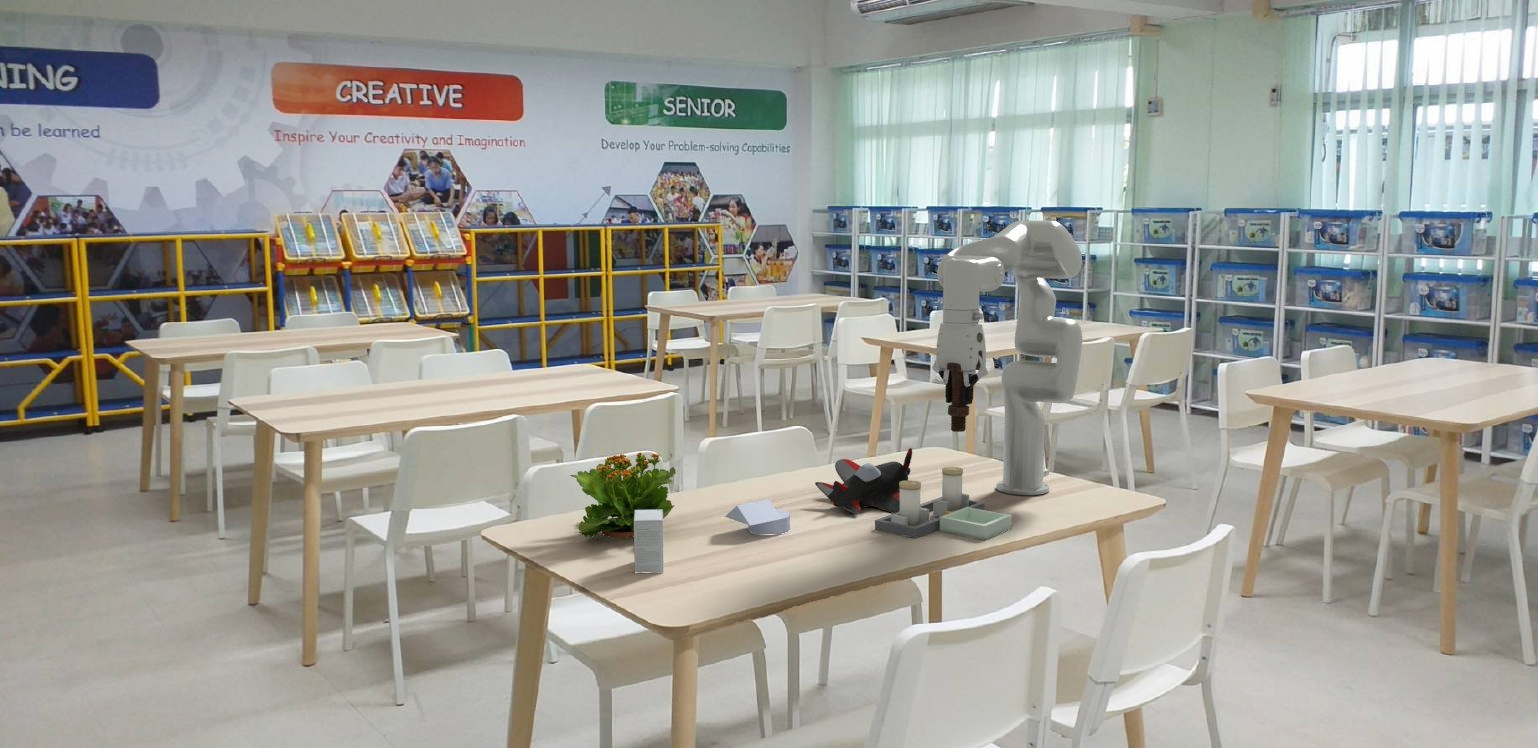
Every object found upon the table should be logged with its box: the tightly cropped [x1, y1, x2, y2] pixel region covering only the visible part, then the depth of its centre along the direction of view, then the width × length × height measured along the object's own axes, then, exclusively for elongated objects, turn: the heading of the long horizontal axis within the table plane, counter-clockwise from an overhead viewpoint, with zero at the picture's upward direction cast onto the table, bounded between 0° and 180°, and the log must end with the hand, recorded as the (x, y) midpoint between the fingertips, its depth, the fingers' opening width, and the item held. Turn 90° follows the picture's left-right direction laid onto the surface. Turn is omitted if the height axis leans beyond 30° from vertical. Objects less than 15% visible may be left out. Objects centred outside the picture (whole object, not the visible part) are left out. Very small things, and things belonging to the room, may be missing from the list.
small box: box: [633, 510, 664, 573], centre depth 226 cm, size 8×6×10 cm
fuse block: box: [874, 493, 986, 539], centre depth 259 cm, size 11×28×4 cm, turn 139°
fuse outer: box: [899, 479, 922, 527], centre depth 252 cm, size 5×5×10 cm
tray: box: [939, 507, 1012, 541], centre depth 251 cm, size 11×11×3 cm
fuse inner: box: [941, 466, 964, 512], centre depth 265 cm, size 5×5×10 cm
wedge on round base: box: [724, 498, 791, 535], centre depth 251 cm, size 9×7×13 cm
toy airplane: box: [814, 447, 913, 515], centre depth 273 cm, size 28×24×15 cm
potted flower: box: [569, 451, 677, 539], centre depth 250 cm, size 25×24×18 cm
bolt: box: [947, 362, 970, 433], centre depth 251 cm, size 6×5×15 cm
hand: (959, 402), depth 251 cm, fingers closed on bolt, 3 cm apart
